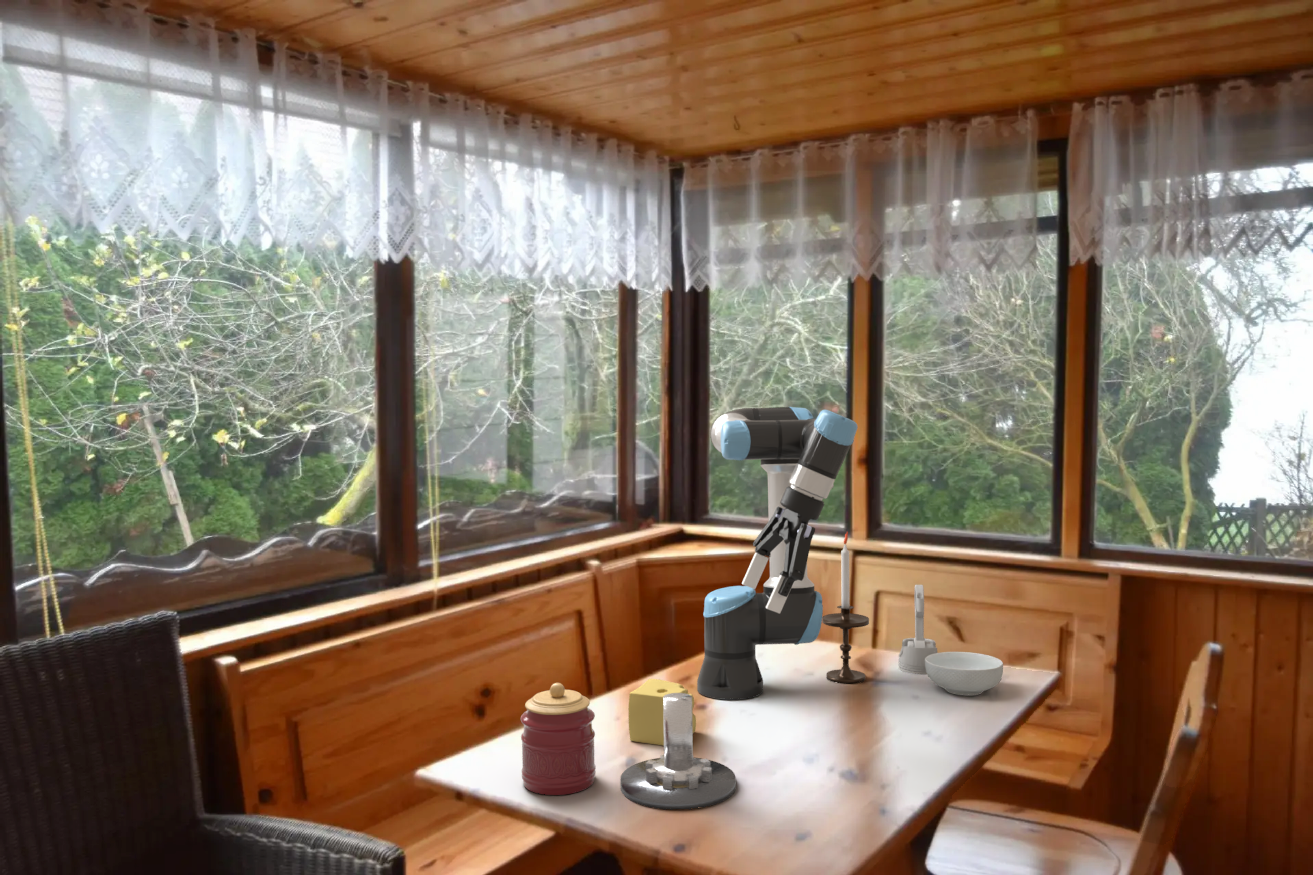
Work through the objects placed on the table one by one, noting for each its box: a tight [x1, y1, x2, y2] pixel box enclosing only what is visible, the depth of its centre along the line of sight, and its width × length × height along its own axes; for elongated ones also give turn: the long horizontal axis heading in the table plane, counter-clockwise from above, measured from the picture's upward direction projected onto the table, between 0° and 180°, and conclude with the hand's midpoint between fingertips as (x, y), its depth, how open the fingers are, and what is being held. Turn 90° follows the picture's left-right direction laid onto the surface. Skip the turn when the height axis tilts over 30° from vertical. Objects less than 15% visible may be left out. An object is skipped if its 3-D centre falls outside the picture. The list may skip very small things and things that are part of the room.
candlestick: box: [822, 531, 870, 685], centre depth 237 cm, size 11×11×35 cm
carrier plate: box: [619, 756, 737, 811], centre depth 174 cm, size 20×20×2 cm
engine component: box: [898, 584, 939, 675], centre depth 245 cm, size 11×20×10 cm
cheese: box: [628, 678, 697, 747], centre depth 199 cm, size 10×11×10 cm
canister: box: [520, 682, 597, 796], centre depth 176 cm, size 13×13×18 cm
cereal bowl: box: [925, 651, 1004, 696], centre depth 227 cm, size 17×17×7 cm
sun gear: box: [646, 693, 712, 790], centre depth 174 cm, size 12×12×14 cm
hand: (760, 598), depth 185 cm, fingers open, 13 cm apart
